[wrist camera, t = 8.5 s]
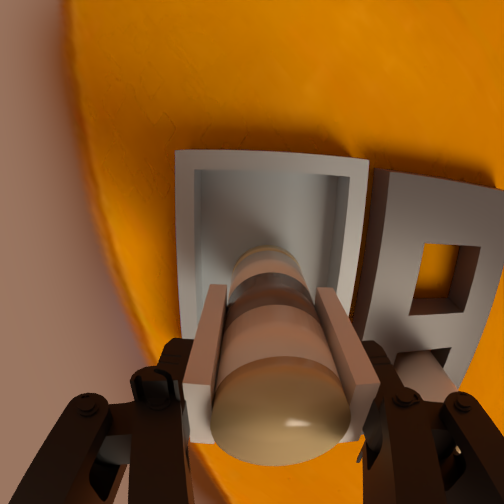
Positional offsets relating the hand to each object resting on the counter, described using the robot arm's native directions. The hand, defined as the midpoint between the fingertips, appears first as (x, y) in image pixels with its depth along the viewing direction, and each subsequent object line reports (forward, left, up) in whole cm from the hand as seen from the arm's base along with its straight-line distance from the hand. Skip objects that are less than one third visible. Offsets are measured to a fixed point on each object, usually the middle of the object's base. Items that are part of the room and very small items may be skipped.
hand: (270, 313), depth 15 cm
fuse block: (+4, +12, -6) cm, 14 cm away
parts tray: (0, 0, -6) cm, 6 cm away
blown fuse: (0, 0, -4) cm, 4 cm away
